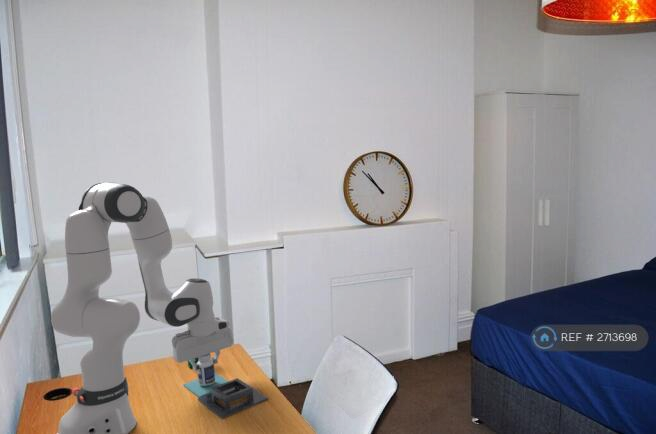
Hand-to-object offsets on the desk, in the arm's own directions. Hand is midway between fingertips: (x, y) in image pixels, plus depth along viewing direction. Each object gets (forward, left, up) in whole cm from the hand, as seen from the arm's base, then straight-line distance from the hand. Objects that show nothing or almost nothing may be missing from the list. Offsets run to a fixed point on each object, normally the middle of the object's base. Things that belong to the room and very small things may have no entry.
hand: (205, 366), depth 178 cm
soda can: (+4, +18, -7) cm, 20 cm away
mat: (0, 0, -7) cm, 7 cm away
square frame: (+1, -15, -7) cm, 17 cm away
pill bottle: (0, 0, -6) cm, 6 cm away
